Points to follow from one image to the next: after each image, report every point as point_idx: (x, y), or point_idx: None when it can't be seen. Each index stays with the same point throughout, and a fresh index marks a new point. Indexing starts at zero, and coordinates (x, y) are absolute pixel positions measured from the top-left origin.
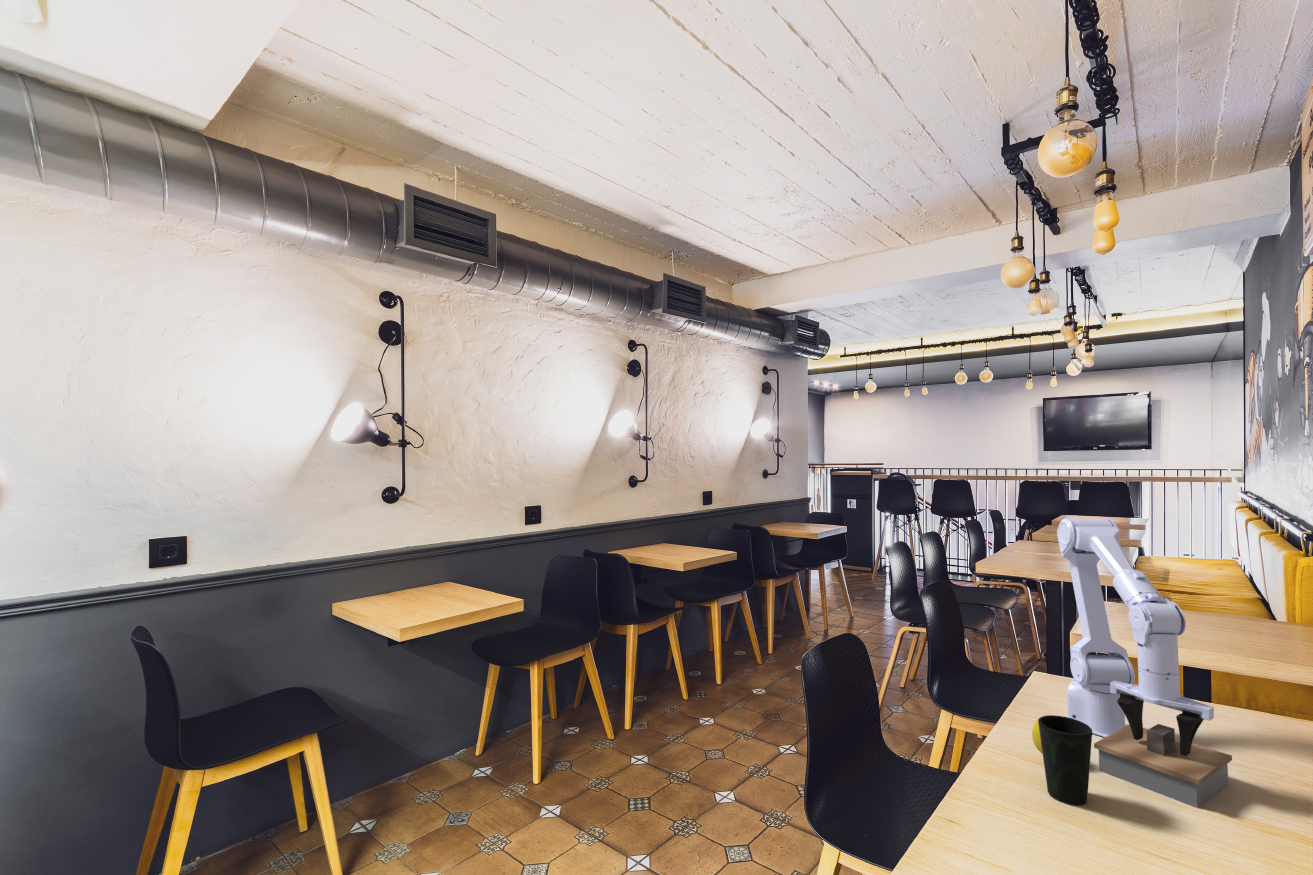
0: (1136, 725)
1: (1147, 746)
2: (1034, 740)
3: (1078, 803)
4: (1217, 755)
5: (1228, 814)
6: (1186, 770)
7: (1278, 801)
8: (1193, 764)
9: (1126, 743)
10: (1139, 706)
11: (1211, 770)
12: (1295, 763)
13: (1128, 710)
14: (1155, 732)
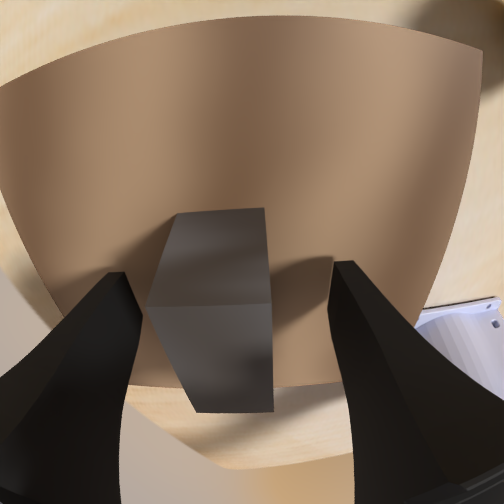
0: (361, 333)
1: (262, 219)
2: None
3: None
4: None
5: None
6: (33, 140)
7: (54, 305)
8: (69, 237)
9: (373, 198)
10: (370, 475)
11: (23, 242)
12: (159, 422)
13: (448, 410)
14: (207, 317)
